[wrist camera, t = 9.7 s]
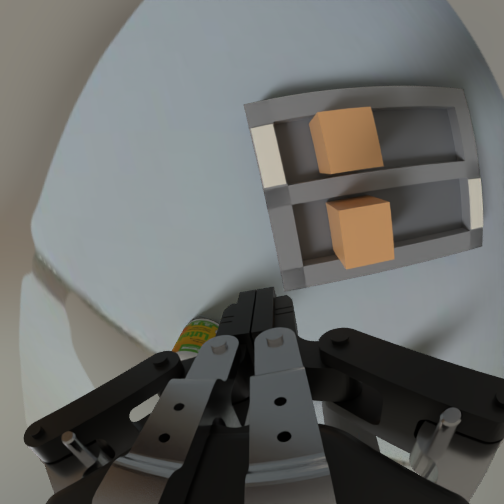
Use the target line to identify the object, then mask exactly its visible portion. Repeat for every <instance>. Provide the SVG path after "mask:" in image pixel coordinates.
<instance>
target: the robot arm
mask: <svg viewBox="0 0 504 504" xmlns="http://www.w3.org/2000/svg"><path fill="white" fill-rule="evenodd" d="M155 394H158V396H159V397H160V398H159V400H158V402H157V404H156V405H155V407H154V409H153V411H152V413H150V414H149V415H147V416H146V417H144V418H143V419H141V420H139V421H137V422H131V420H130V418H129V414H130V411H131V410H132V409H133V408H135V407H136V406H138V405H140V404H141V403H143V402H144V401H146V400H147V399H149V398H150V397H152V396H154V395H155ZM312 400H315V401H325V404H326V406H327V407H328V408H329V409H331V410H332V411H334V412H336V413H337V414H339V415H341V416H342V417H344V418H346V419H347V420H349V421H351V422H352V423H354V424H356V425H358V426H359V427H361V428H363V429H365V430H366V431H368V432H370V433H372V434H374V435H375V436H377V437H379V438H381V439H383V440H385V441H387V442H389V443H390V444H392V445H394V446H396V447H398V448H400V449H402V450H404V451H406V452H408V453H410V458H409V460H410V465H411V467H412V469H413V470H414V471H415V472H417V473H418V474H419V475H418V474H417V473H415V472H413V471H411V470H409V469H407V468H406V467H404V466H402V465H400V464H399V463H397V462H395V461H393V460H392V459H390V458H388V457H387V456H385V455H383V454H382V453H380V452H378V451H377V450H375V449H373V448H372V447H370V446H369V445H367V444H365V443H364V442H362V441H361V440H359V439H358V438H356V437H355V436H353V435H351V434H350V433H348V432H346V431H344V430H341V429H339V428H336V427H333V426H329V425H324V424H318V422H317V418H316V414H315V409H314V405H313V401H312ZM503 441H504V379H503V378H499V377H496V376H492V375H489V374H485V373H482V372H479V371H475V370H472V369H469V368H466V367H462V366H459V365H456V364H453V363H450V362H447V361H444V360H440V359H437V358H434V357H431V356H428V355H425V354H422V353H419V352H416V351H413V350H410V349H408V348H405V347H402V346H399V345H396V344H393V343H390V342H387V341H385V340H382V339H379V338H376V337H373V336H371V335H368V334H365V333H362V332H360V331H357V330H354V329H351V328H337V329H333V330H330V331H328V332H326V333H324V334H323V335H322V336H321V337H320V339H319V341H307V340H304V339H302V338H300V337H299V336H298V330H297V324H296V318H295V313H294V307H293V302H292V299H291V298H290V297H288V296H287V295H285V296H279V297H276V294H275V290H274V287H269V288H263V289H257V290H252V291H246V292H240V295H239V298H238V302H237V304H231V305H230V306H229V307H228V308H227V309H225V310H224V313H223V315H222V319H221V321H220V324H219V327H218V330H217V333H216V336H215V337H214V338H211V339H209V340H208V341H206V342H205V343H204V344H203V345H202V346H201V348H200V350H199V352H198V354H197V356H196V357H193V358H189V359H186V360H182V361H181V360H180V357H179V355H178V354H177V353H176V352H173V351H163V352H159V353H157V354H155V355H153V356H151V357H149V358H148V359H146V360H144V361H143V362H141V363H139V364H138V365H136V366H134V367H133V368H131V369H129V370H128V371H126V372H124V373H123V374H121V375H119V376H117V377H116V378H114V379H112V380H110V381H109V382H107V383H105V384H103V385H102V386H100V387H98V388H96V389H95V390H93V391H91V392H89V393H88V394H86V395H84V396H82V397H80V398H79V399H77V400H75V401H73V402H71V403H70V404H68V405H66V406H64V407H62V408H60V409H59V410H57V411H55V412H53V413H51V414H49V415H47V416H45V417H44V418H42V419H40V420H38V421H36V422H34V423H33V424H31V425H30V426H29V427H28V428H27V430H26V432H25V434H24V442H25V444H26V445H27V446H28V447H29V448H30V449H31V450H32V451H33V452H34V453H35V454H36V455H37V456H38V457H39V459H40V460H41V461H42V462H43V463H44V464H45V467H46V470H47V473H48V476H49V479H50V482H51V485H52V488H53V490H54V493H55V494H54V495H53V496H52V497H50V499H49V500H48V501H47V503H46V504H469V501H470V499H471V498H472V496H473V494H474V493H475V491H476V489H477V488H478V486H479V484H480V482H481V481H482V479H483V477H484V475H485V473H486V472H487V470H488V468H489V466H490V464H491V462H492V460H493V458H494V456H495V453H496V451H497V449H498V448H499V447H500V445H501V444H502V442H503ZM420 475H421V476H420Z"/></svg>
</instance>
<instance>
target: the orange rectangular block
mask: <svg viewBox="0 0 504 504" xmlns="http://www.w3.org/2000/svg"><path fill="white" fill-rule="evenodd" d="M326 207H327V213H328V219H329V225H330V232H331V238H332V245H333V251H334V252H335V254H336V255H337V257H338V258H339V260H340V261H341V263H342V264H343V266H344V267H345V269H351V268H356V267H361V266H366V265H370V264H375V263H379V262H384V261H389V260H393V259H394V243H393V230H392V220H391V210H390V202H388V201H385V200H382V199H379V198H376V197H373V196H370V195H365V196H359V197H353V198H347V199H342V200H336V201H330V202H326Z"/></svg>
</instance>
